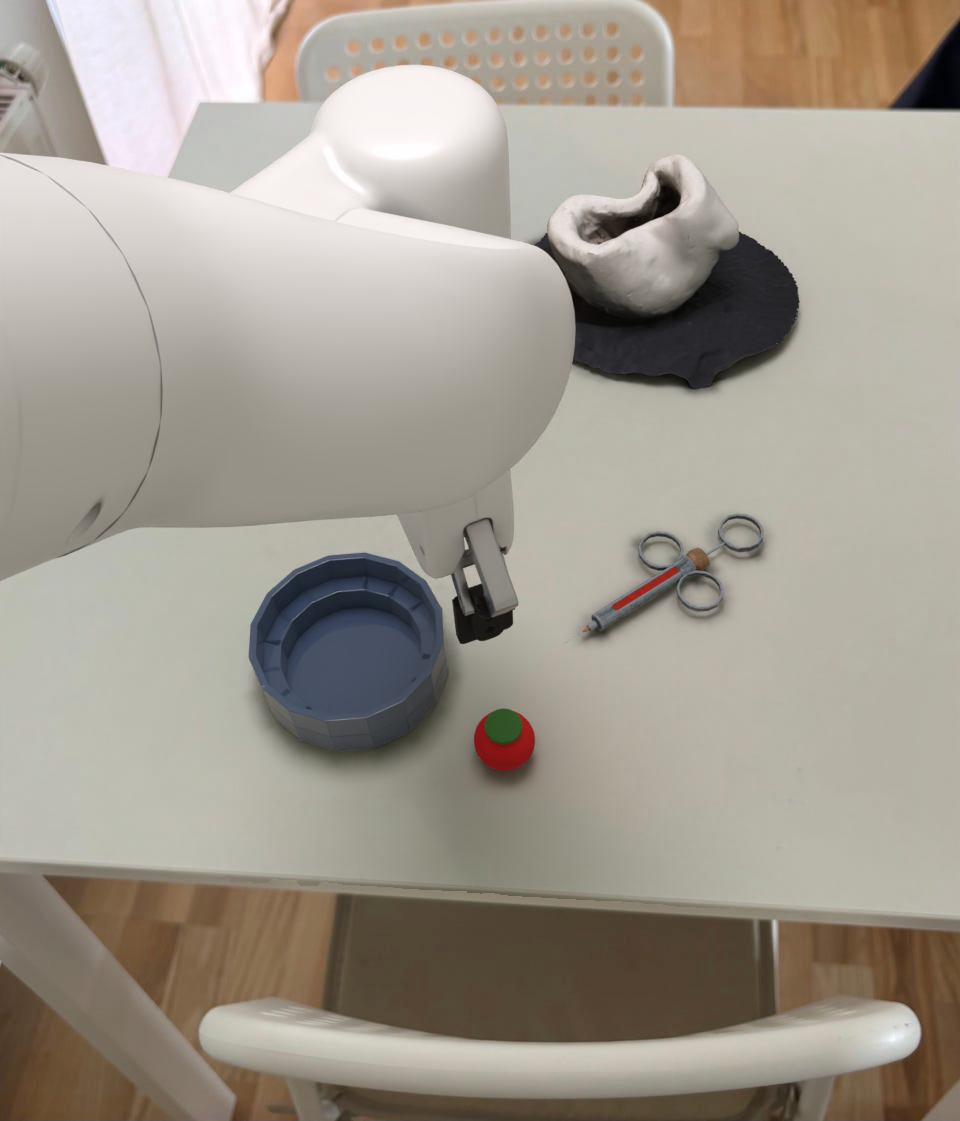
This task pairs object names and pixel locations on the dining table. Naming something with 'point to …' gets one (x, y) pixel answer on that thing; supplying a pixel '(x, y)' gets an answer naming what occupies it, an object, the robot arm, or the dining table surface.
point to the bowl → (350, 651)
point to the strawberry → (504, 740)
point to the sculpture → (668, 278)
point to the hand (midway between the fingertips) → (454, 565)
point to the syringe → (668, 578)
